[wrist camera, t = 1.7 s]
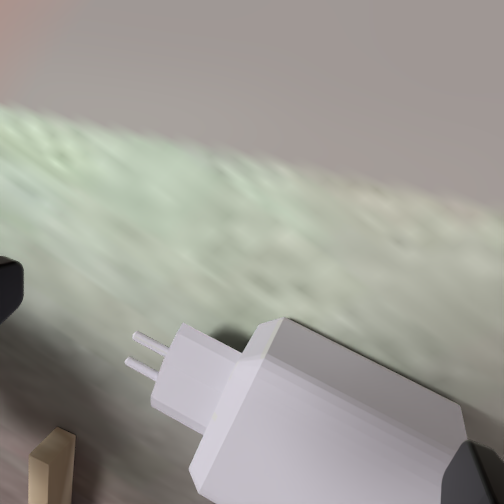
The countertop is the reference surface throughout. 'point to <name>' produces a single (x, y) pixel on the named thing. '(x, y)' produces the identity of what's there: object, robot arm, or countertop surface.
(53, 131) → the countertop surface
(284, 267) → the countertop surface
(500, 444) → the countertop surface
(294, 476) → the charger
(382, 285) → the countertop surface
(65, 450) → the guarded bay
